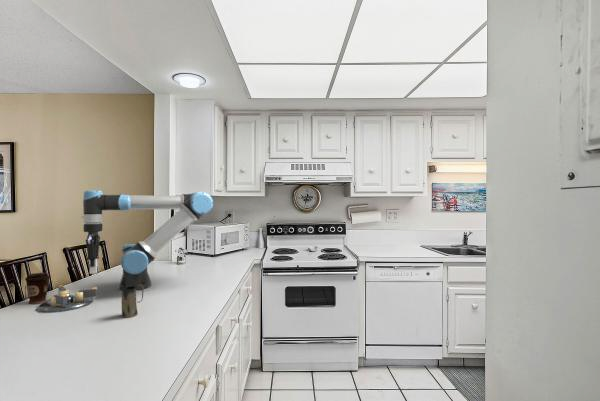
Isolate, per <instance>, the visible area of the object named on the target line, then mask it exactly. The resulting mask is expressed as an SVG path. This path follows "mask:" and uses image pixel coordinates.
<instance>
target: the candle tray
mask: <svg viewBox="0 0 600 401" xmlns="http://www.w3.org/2000/svg"><path fill="white" fill-rule="evenodd" d="M65 294H67V304H65V305H60V306H56V307H51V300H46V301H45V302H42V303H41V304H39V305H38V307H37V311H38V312H40V313H60V312H61V313H62V312H68V311H69V312H70V311H73V310H77V309H81V308H84V307H87V306H89V305H91V304H93V303H94V297H88V298H84V301H81V302H75V295H71V294H70V292H69V293H65Z"/></svg>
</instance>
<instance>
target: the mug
mask: <svg viewBox="0 0 600 401" xmlns="http://www.w3.org/2000/svg"><path fill="white" fill-rule="evenodd" d="M137 286H142V289H141V290H142V291H141V292H142V293H141V300H140V301H137V290H136V288H137ZM137 286H136V287H135V286H131V287H125V288H123V290H121V316H122V318H124V319H130V318H134V317H137V316H138V306H137V305H138V304H137V303H142V301H143V298H144V289H143V285H137Z"/></svg>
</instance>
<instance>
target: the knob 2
mask: <svg viewBox="0 0 600 401" xmlns="http://www.w3.org/2000/svg"><path fill="white" fill-rule="evenodd" d="M50 301H51V307H56V306H60V305H65V304H67V294H64V295H60V294H59V293H57V294H53V295H51V296H50Z"/></svg>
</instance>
